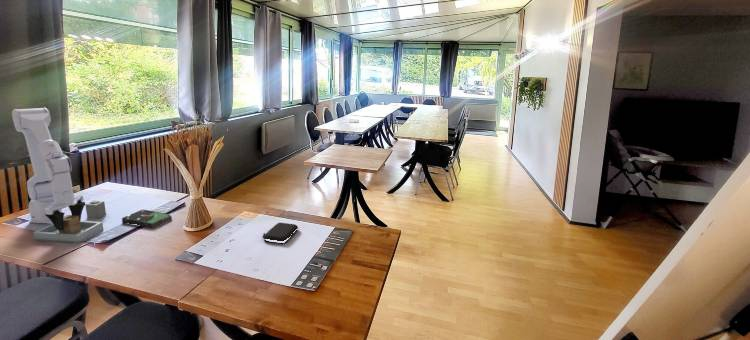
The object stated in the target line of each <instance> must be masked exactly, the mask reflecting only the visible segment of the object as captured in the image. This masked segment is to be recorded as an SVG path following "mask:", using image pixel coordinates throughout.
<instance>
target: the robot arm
mask: <svg viewBox="0 0 750 340" xmlns="http://www.w3.org/2000/svg"><path fill="white" fill-rule="evenodd" d="M11 117H12V121H13V125H14V128H15V130H16V132H17V133H18V132H19V133H22V134H23V136H24V139H25V143H26V146H27V151H28V155H29V158H30V161H31V162H30V163H31V166H32V170H33V176H31V177H30V178H29V179H28V180H27V181H26V187H27V188H26V190H27V194H28V197H29V199H30V201H29V203H28V210H29V216H30V220H29V223H34V224H36V223H38V224H49V225H51V224H54V226H55V228H56V229H57V230H64V223H63V218H64V216H66V215H67V214H66V212H63V209H64V208H67V207H68V208H69V211H70V213H71V214H70V215H76V216H79V220H80V221H82V220H81V219H82V214H83V209H84V207H86V206H85V204H86V202H85V201H84V196H83V195H82V194H77V195H75V194H74V189H73V181H72V177H71V173H72V171H73V167H72V166H73V165H72V162H71V159H70V157H69V156H67V155H66V154H65V153H64V152H63V151H62V148H61V146H60V144H59V142H58V141H56V140H53V138H52V136H51V132H50V130H49V126H50V125H51V122H52V116H51V113H50V110H49V109H48V108H46V107H40V108H38V107H35V108H19V109H18V108H14V109H13V110H12V111H11Z"/></svg>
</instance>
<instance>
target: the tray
mask: <svg viewBox="0 0 750 340" xmlns="http://www.w3.org/2000/svg"><path fill="white" fill-rule="evenodd" d="M80 226H81V231H80V232H78V233H76V234H63V233H59V230H57V229H56V228H55V226H54V224H49V225H47V226H45V227H43V228H40V229H38V230H36V231H34V232H33V237H34V241H39V242H51V243H53V242H54V243H64V244H66V243H67V244H76V245H77V244H81V243H82V242H84V241H86V240H87V239H86V238H88V237H89V238H91V237H92V236H91V235H93V234H95V233H96V234H98V233H100V232H101V231H100V230H102V229H103V230H104V226H103V222H102V221H91V220H90V221H89V220H80ZM103 230H102V231H103ZM99 231H100V232H99ZM97 232H98V233H97ZM96 234H95V235H96ZM90 236H91V237H90ZM93 236H94V235H93ZM89 238H88V239H89ZM85 239H86V240H85Z"/></svg>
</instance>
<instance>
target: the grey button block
mask: <svg viewBox="0 0 750 340" xmlns="http://www.w3.org/2000/svg"><path fill="white" fill-rule="evenodd" d="M84 207H85V212H86V218H87V219H93V220H99V219H100V218H103V217H105V216H106V215H107V213H106V212H107V209H106V205H105V201H104V200H91V201H90V202H88V203H85V206H84ZM104 215H105V216H104Z"/></svg>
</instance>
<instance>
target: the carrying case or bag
mask: <svg viewBox="0 0 750 340" xmlns="http://www.w3.org/2000/svg"><path fill="white" fill-rule="evenodd" d="M297 228H298V229H299V226H297V224H294V223H287V222H278V223H276V224H274V225H273V227H272V228H270V229H269V230H268V231H267V232H266V233H265V232H263V235H262V239H263V238H264V239H270V240H277V241H284V240H286V239H287V238H289V237H290V236H291V234H293V232H294V231H295V230H296V229H297ZM264 239H263V240H264Z"/></svg>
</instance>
